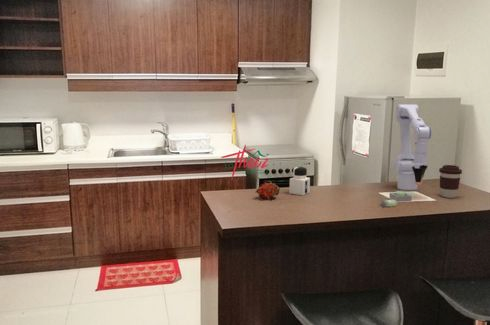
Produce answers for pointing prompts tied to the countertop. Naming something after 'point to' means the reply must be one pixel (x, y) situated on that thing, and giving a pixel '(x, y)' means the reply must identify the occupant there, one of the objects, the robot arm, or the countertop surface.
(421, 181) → the cylinder
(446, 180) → the coffee cup
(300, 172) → the container
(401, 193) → the button
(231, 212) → the countertop surface
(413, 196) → the white sorting board
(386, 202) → the sage marker lying
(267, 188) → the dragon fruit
